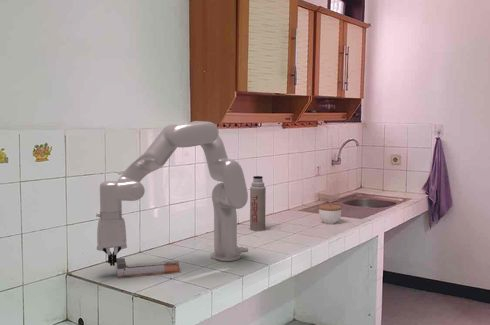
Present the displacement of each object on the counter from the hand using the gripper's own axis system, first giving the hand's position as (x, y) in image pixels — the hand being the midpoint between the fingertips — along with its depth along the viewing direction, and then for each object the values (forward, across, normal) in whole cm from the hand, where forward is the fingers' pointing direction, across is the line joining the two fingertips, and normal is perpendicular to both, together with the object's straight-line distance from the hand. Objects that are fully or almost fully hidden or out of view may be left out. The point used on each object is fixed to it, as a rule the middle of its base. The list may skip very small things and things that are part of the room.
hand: (112, 264), depth 183 cm
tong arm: (+4, +15, +2) cm, 16 cm away
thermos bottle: (+5, +76, +58) cm, 96 cm away
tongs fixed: (+4, +13, 0) cm, 13 cm away
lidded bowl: (+5, +120, +62) cm, 136 cm away
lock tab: (0, +3, 0) cm, 3 cm away
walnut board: (+5, +13, +3) cm, 14 cm away
